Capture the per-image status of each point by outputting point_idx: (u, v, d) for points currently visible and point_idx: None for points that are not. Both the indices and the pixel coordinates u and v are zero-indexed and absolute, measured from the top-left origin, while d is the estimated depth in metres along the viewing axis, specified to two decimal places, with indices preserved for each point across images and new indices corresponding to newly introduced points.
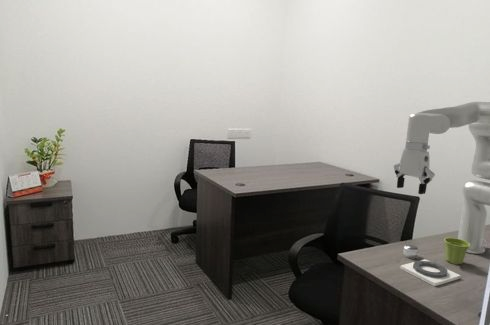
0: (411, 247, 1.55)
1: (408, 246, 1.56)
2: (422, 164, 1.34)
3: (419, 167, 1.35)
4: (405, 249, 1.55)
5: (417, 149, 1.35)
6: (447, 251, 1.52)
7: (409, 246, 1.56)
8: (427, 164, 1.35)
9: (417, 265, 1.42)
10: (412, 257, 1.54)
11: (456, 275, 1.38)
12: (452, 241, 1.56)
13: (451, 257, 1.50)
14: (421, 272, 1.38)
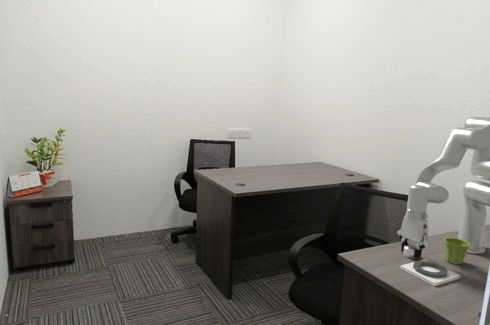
0: (411, 247, 1.55)
1: (408, 246, 1.56)
2: (421, 231, 1.49)
3: (418, 234, 1.50)
4: (405, 249, 1.55)
5: (417, 218, 1.50)
6: (447, 251, 1.52)
7: (409, 246, 1.56)
8: (426, 231, 1.50)
9: (417, 265, 1.42)
10: (412, 257, 1.54)
11: (456, 275, 1.38)
12: (452, 241, 1.56)
13: (451, 257, 1.50)
14: (421, 272, 1.38)
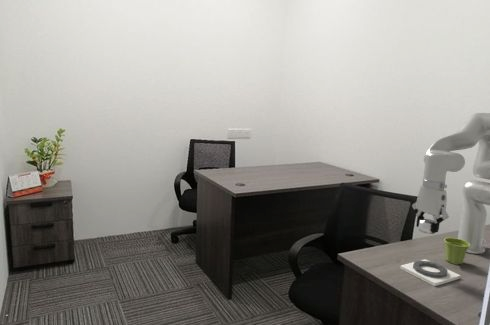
0: (427, 221, 1.42)
1: (424, 220, 1.43)
2: (439, 203, 1.37)
3: (436, 205, 1.37)
4: (421, 223, 1.43)
5: (434, 188, 1.37)
6: (447, 251, 1.52)
7: (425, 220, 1.43)
8: (444, 203, 1.37)
9: (417, 265, 1.42)
10: (428, 231, 1.41)
11: (456, 275, 1.38)
12: (452, 241, 1.56)
13: (451, 257, 1.50)
14: (421, 272, 1.38)
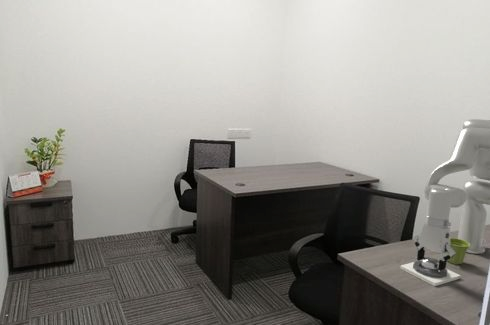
0: (430, 260, 1.40)
1: (427, 259, 1.41)
2: (443, 241, 1.34)
3: (440, 244, 1.34)
4: (424, 263, 1.40)
5: (438, 226, 1.34)
6: None
7: (428, 259, 1.41)
8: (448, 240, 1.35)
9: (417, 265, 1.42)
10: None
11: (456, 275, 1.38)
12: (452, 241, 1.56)
13: None
14: (421, 272, 1.38)
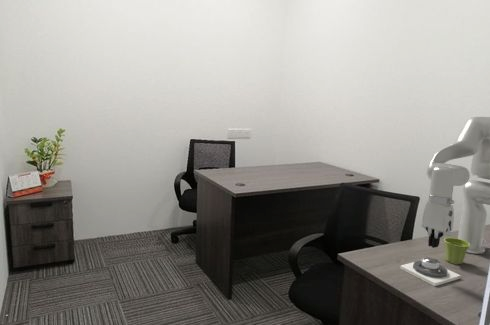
0: (430, 260, 1.40)
1: (427, 259, 1.41)
2: (446, 219, 1.32)
3: (443, 222, 1.33)
4: (424, 263, 1.40)
5: (441, 204, 1.33)
6: (447, 251, 1.52)
7: (428, 259, 1.41)
8: (451, 219, 1.33)
9: (417, 265, 1.42)
10: None
11: (456, 275, 1.38)
12: (452, 241, 1.56)
13: (451, 257, 1.50)
14: (421, 272, 1.38)
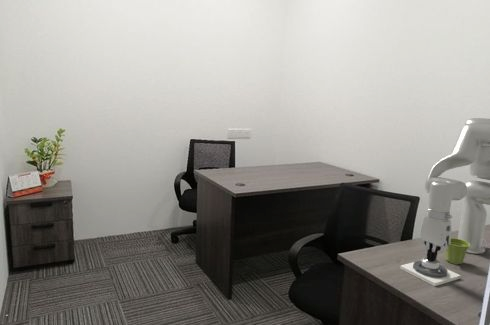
0: None
1: None
2: (444, 234, 1.33)
3: (441, 236, 1.34)
4: (424, 262, 1.40)
5: (439, 218, 1.34)
6: (447, 251, 1.52)
7: None
8: (449, 233, 1.34)
9: (417, 265, 1.42)
10: None
11: (456, 275, 1.38)
12: (452, 241, 1.56)
13: (451, 257, 1.50)
14: (421, 272, 1.38)
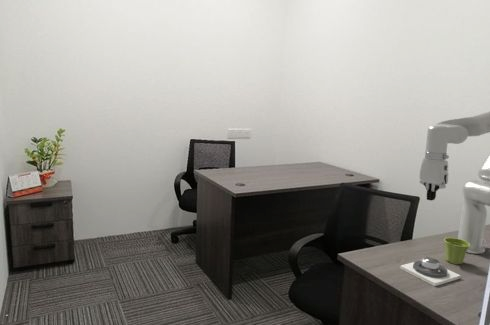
0: (430, 260, 1.40)
1: (427, 259, 1.41)
2: (442, 173, 1.45)
3: (439, 175, 1.45)
4: (424, 262, 1.40)
5: (437, 159, 1.45)
6: (447, 251, 1.52)
7: (428, 259, 1.41)
8: (446, 172, 1.46)
9: (417, 265, 1.42)
10: None
11: (456, 275, 1.38)
12: (452, 241, 1.56)
13: (451, 257, 1.50)
14: (421, 272, 1.38)
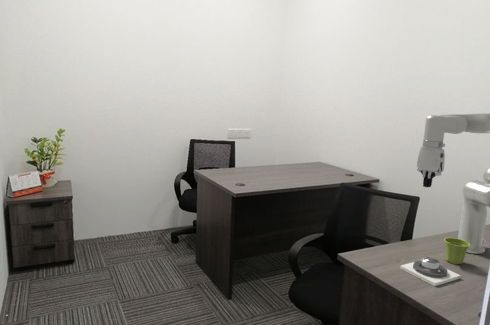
0: (430, 260, 1.40)
1: (427, 259, 1.41)
2: (438, 160, 1.51)
3: (435, 163, 1.52)
4: (424, 262, 1.40)
5: (434, 147, 1.52)
6: (447, 251, 1.52)
7: (428, 259, 1.41)
8: (442, 160, 1.52)
9: (417, 265, 1.42)
10: None
11: (456, 275, 1.38)
12: (452, 241, 1.56)
13: (451, 257, 1.50)
14: (421, 272, 1.38)
